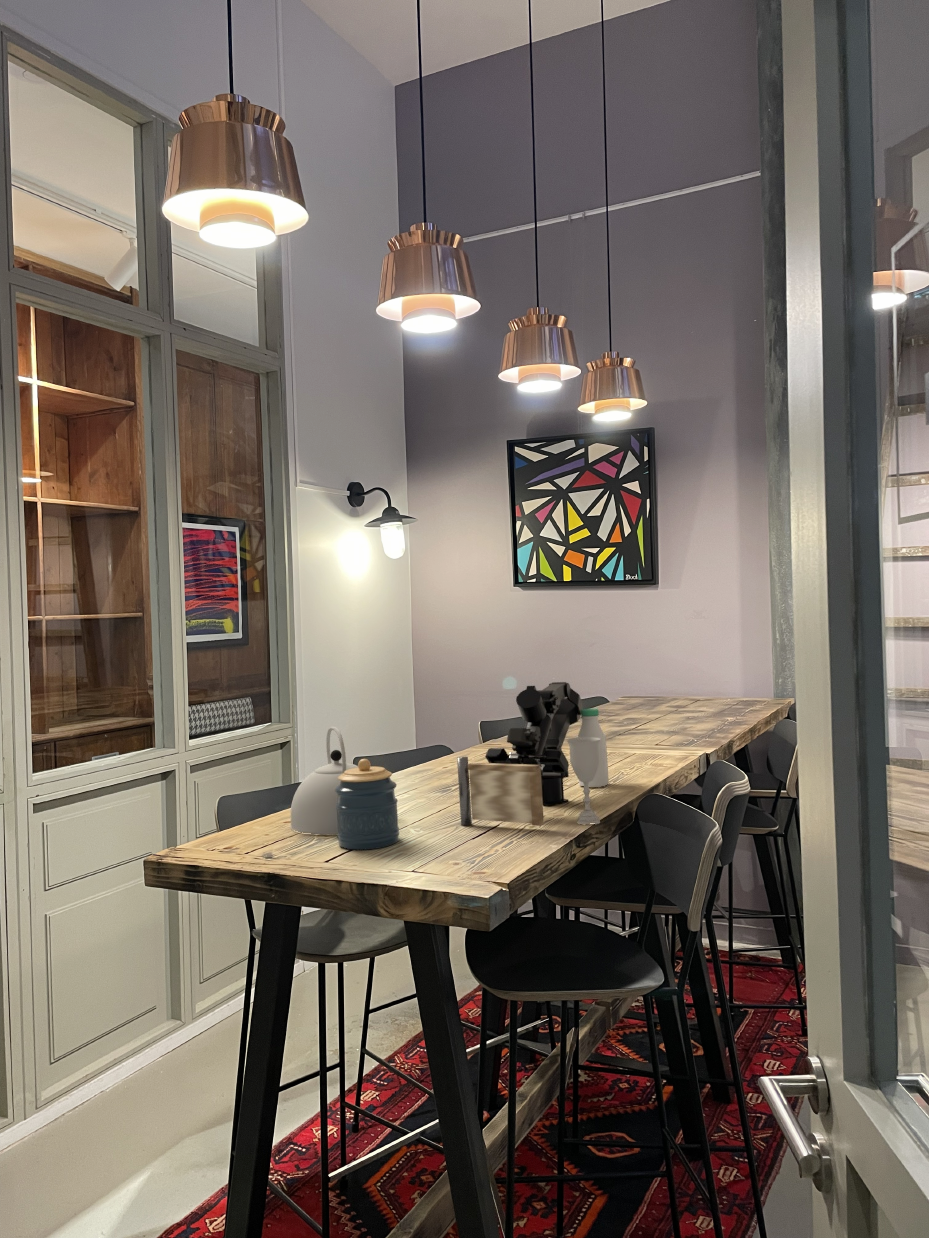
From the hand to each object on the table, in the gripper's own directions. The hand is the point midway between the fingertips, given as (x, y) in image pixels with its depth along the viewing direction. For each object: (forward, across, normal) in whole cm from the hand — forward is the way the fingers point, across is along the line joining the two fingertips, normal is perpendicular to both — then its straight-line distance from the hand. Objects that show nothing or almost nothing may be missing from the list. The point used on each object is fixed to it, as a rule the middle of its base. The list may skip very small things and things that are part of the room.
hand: (516, 791), depth 202 cm
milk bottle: (-25, +1, +34) cm, 43 cm away
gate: (+8, 0, 0) cm, 8 cm away
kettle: (+13, -41, -3) cm, 43 cm away
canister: (+23, -22, -13) cm, 35 cm away
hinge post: (+9, -10, +1) cm, 13 cm away
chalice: (+2, +15, +7) cm, 17 cm away
